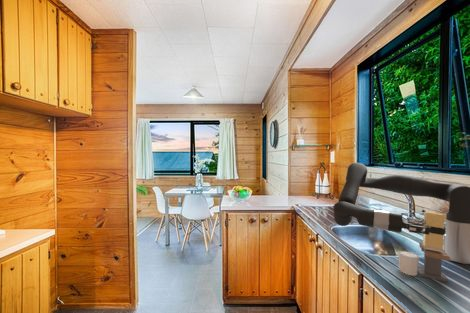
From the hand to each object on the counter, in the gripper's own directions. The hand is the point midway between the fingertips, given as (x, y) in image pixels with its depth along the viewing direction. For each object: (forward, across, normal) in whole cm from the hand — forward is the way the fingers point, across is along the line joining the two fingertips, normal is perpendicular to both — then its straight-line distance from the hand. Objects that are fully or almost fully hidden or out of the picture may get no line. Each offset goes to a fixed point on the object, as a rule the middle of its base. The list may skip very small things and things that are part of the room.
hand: (442, 229), depth 88 cm
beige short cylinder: (-9, -2, -19) cm, 21 cm away
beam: (-2, -4, -9) cm, 10 cm away
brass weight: (-3, +1, -6) cm, 7 cm away
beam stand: (-1, -4, -19) cm, 19 cm away
